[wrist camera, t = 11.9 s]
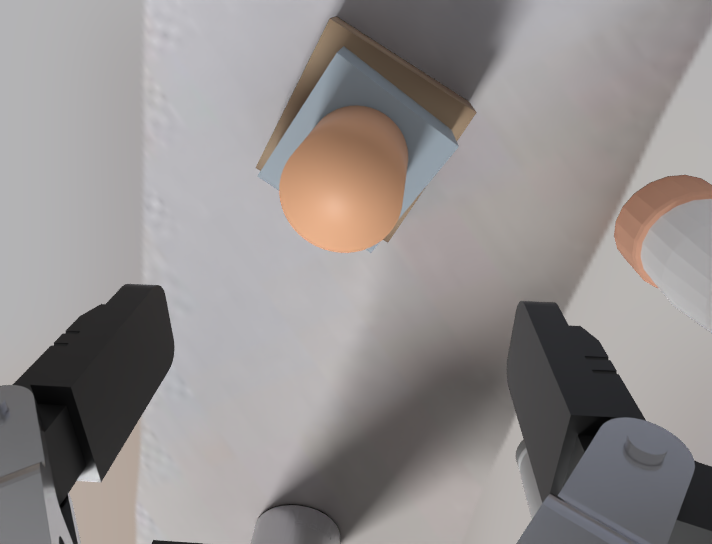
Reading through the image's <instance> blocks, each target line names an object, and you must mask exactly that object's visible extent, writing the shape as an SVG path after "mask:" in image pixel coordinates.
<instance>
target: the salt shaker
mask: <svg viewBox="0 0 712 544" xmlns="http://www.w3.org/2000/svg"><path fill="white" fill-rule="evenodd" d="M614 237H615V241H616V245H617V249H618V250H619V251H620V253H621V254H622V255H623V257H624V258H625V259H626V260H627V262H628V263H629V264H630V265H631V266H632V267H633V268H634V269H635V271H636V272H637V273H638V274H639V275H640V276H641V278H642V279H643V280H644V281H646V282H647V283H649V284H651V285H652V286H654V287H656V288H659V289H660V290H661V292H662V293H663V294H664V295H665V297H666V298H668V300H669V301H670V303H671V304H672V305H673V306H674V307H676V308H677V309H679V310H680V311H681V312H683V313H684V314H686V315H687V316H688V317H690V318H691V319H693V320H694V321H695V322H697V323H698V324H700V325H701V326H702V327H704V328H705V329H707V330H708V331H710V332H711V333H712V185H711V184H709V183H708V182H706V181H704V180H703V179H701V178H697V177H692V176H688V175H679V176H668V177H665V178H662V179H659V180H656V181H654V182H651V183H649V184H647V185H646V186H645V187H643V188H642V189H640V190H639V191H637V192H636V193H634V194H633V196H632V197H631V198H630V199H629V200H628V201H627V202H626V204H625V205H624V206H623V207H622V209H621V212H620V214H619V216H618V218H617V220H616V225H615V233H614Z"/></svg>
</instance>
